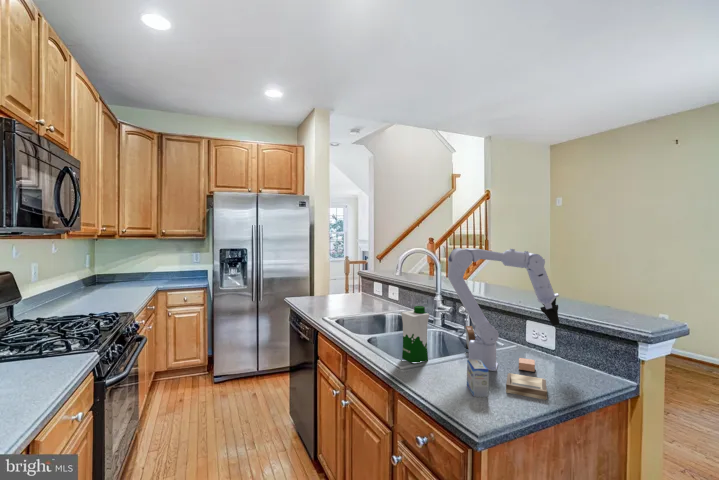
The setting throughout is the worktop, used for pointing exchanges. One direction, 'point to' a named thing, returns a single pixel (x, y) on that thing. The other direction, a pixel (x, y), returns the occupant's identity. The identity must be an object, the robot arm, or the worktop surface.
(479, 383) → the medicine box
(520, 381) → the dock
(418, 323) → the milk carton
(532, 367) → the peach toy brick
